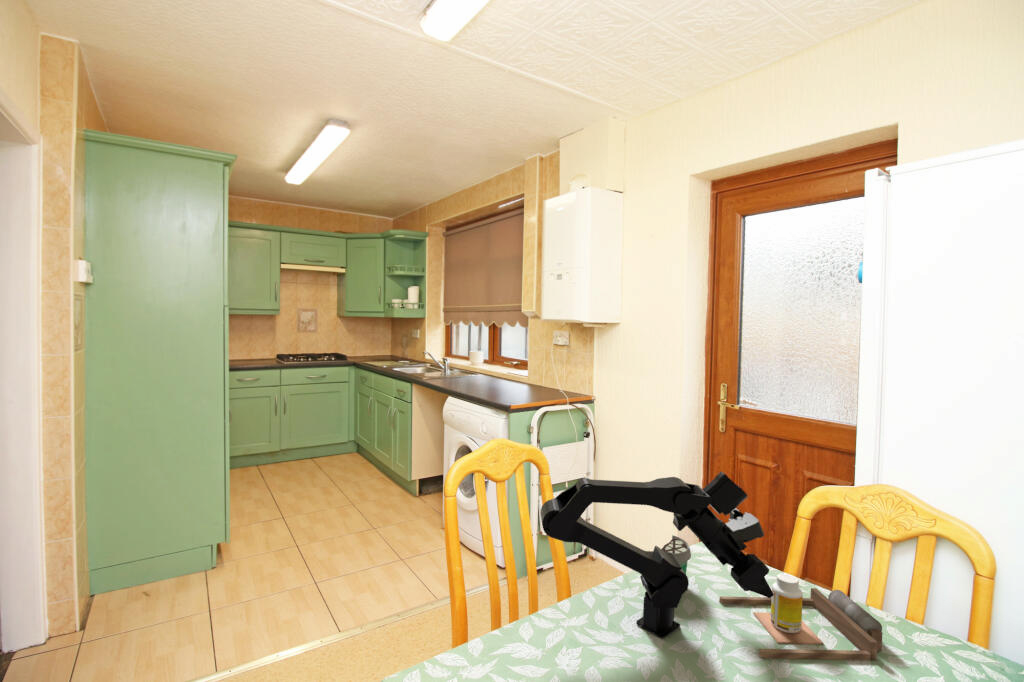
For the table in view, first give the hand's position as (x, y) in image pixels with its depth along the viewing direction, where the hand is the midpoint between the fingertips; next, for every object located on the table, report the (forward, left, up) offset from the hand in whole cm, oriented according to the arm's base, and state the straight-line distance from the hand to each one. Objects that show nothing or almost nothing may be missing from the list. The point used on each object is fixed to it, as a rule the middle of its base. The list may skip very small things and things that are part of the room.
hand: (760, 583), depth 104 cm
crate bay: (+6, -5, -9) cm, 12 cm away
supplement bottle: (+4, -4, -9) cm, 11 cm away
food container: (0, +19, -9) cm, 21 cm away
